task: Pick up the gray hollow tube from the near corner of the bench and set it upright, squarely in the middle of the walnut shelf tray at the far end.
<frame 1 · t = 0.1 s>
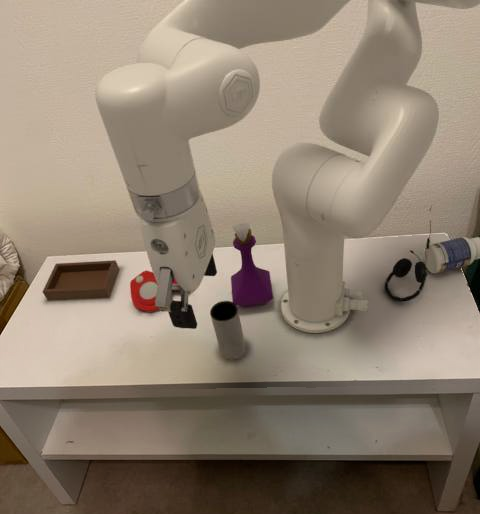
hand: (196, 299, 65), 21 cm above the table, tool pointing down, fingers open, 9 cm apart
gray hollow tube: (233, 350, 85), on the table
shelf tray: (84, 284, 102), on the table
perfume bottle: (253, 299, 92), on the table
headset: (442, 200, 88), point 11 cm above the table, touching pill bottle
pill bottle: (428, 260, 89), point 3 cm above the table, touching headset
tracker holder: (161, 296, 97), on the table
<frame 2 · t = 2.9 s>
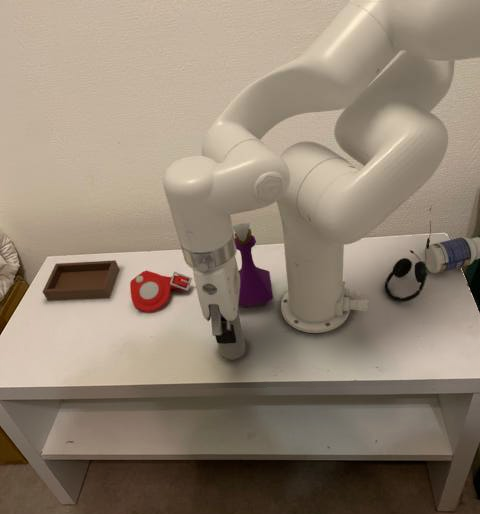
hand: (228, 328, 81), 6 cm above the table, tool pointing down, fingers closed on gray hollow tube, 4 cm apart
gray hollow tube: (233, 350, 85), on the table, touching gripper
everything else where it was.
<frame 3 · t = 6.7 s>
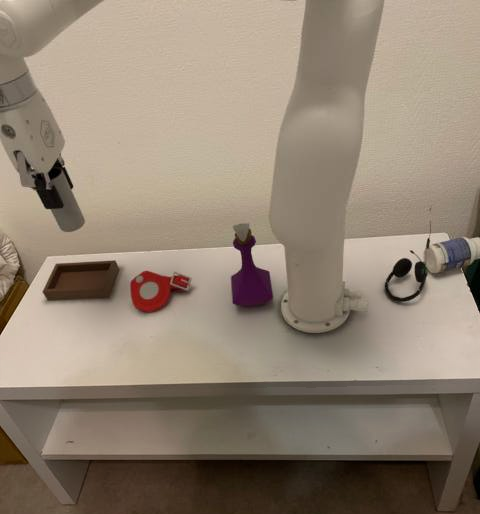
hand: (59, 197, 81), 24 cm above the table, tool pointing down, fingers closed on gray hollow tube, 4 cm apart
gray hollow tube: (73, 225, 86), point 18 cm above the table, touching gripper
everything else where it was.
when the fingers open (6 cm above the table, at t = 10.6 s): gray hollow tube stays where it is, resting on shelf tray.
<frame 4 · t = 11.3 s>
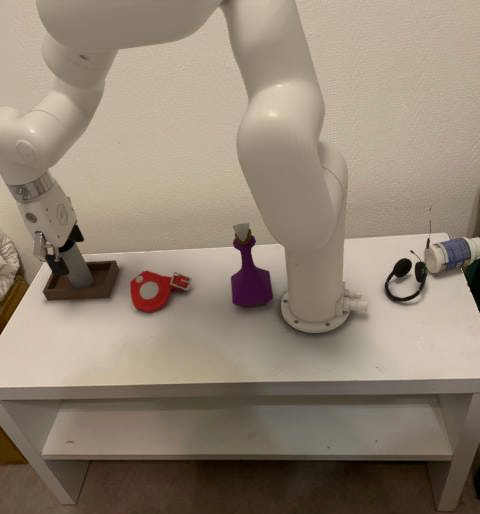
hand: (70, 257, 96), 8 cm above the table, tool pointing down, fingers open, 9 cm apart
gray hollow tube: (83, 283, 102), resting on shelf tray
everything else where it was.
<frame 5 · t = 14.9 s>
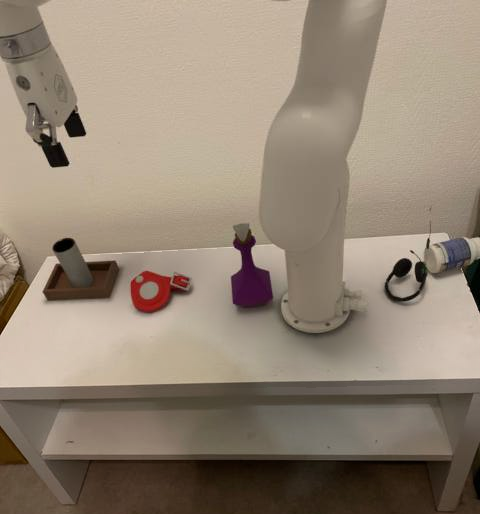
hand: (69, 150, 82), 28 cm above the table, tool pointing down, fingers open, 9 cm apart
nothing on the table moved.
at the end: gray hollow tube inside the target area in the shelf tray (0.1 cm from its centre), point 0.4 cm above the shelf tray's base; gray hollow tube tilted 0°; the gripper is holding nothing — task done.
